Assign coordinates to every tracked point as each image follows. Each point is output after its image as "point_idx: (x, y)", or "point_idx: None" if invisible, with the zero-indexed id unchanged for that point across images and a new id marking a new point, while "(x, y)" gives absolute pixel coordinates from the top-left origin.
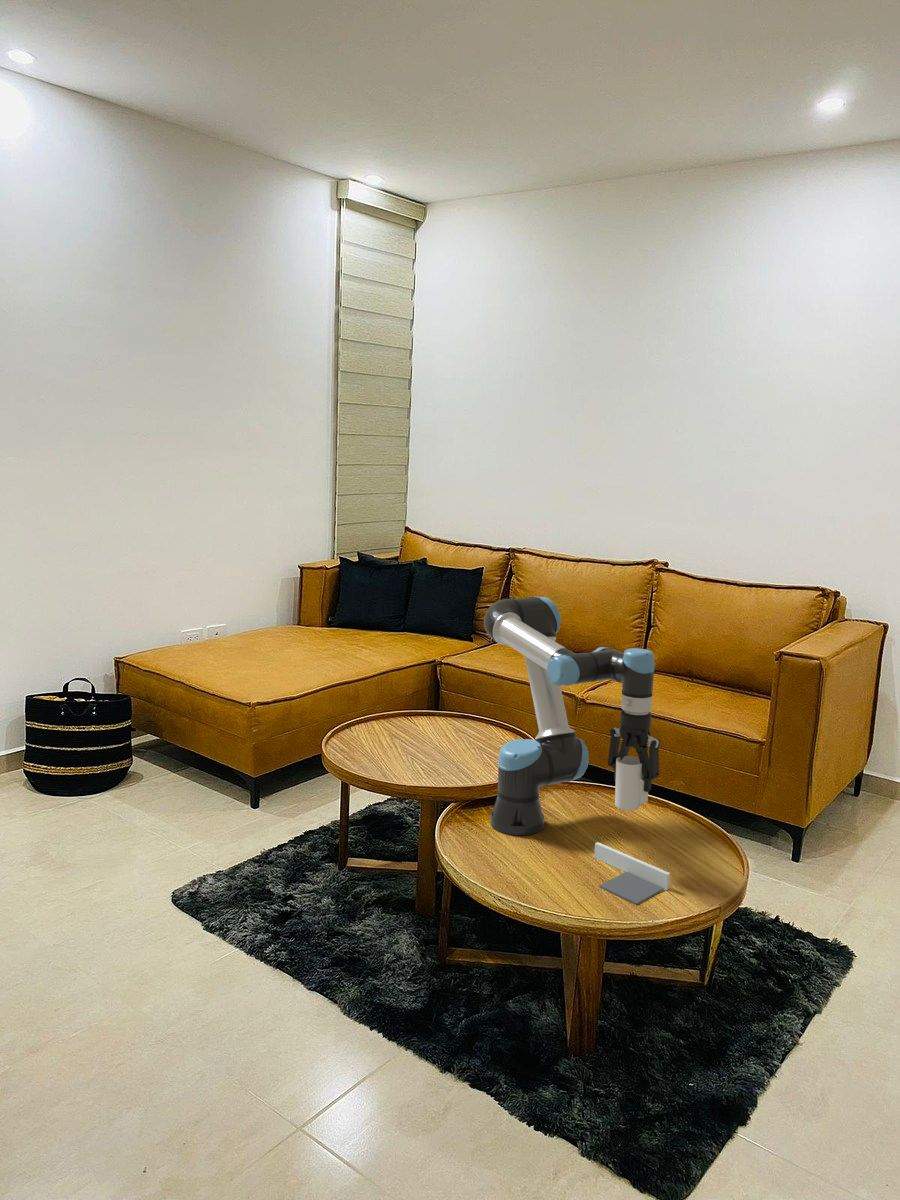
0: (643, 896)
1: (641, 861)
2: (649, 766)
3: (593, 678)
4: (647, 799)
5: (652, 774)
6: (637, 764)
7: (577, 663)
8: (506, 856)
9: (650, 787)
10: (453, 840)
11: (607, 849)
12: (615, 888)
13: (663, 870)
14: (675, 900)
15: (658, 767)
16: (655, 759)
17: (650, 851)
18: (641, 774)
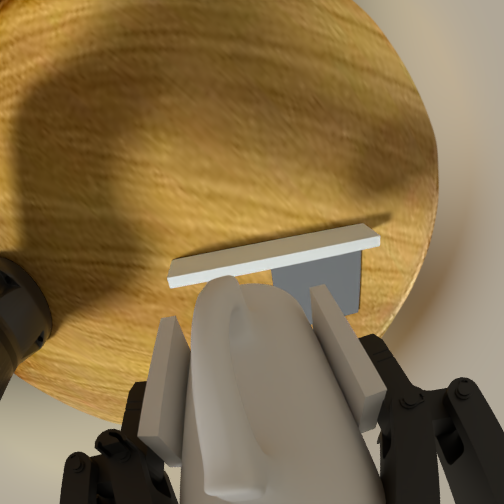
0: (353, 289)
1: (307, 253)
2: (450, 485)
3: None
4: (328, 292)
5: (453, 438)
6: (282, 490)
7: None
8: (118, 380)
9: (386, 352)
10: (61, 396)
11: (209, 280)
12: (305, 314)
13: (364, 239)
14: (390, 244)
15: (498, 433)
16: (502, 498)
17: (213, 120)
18: (369, 454)
